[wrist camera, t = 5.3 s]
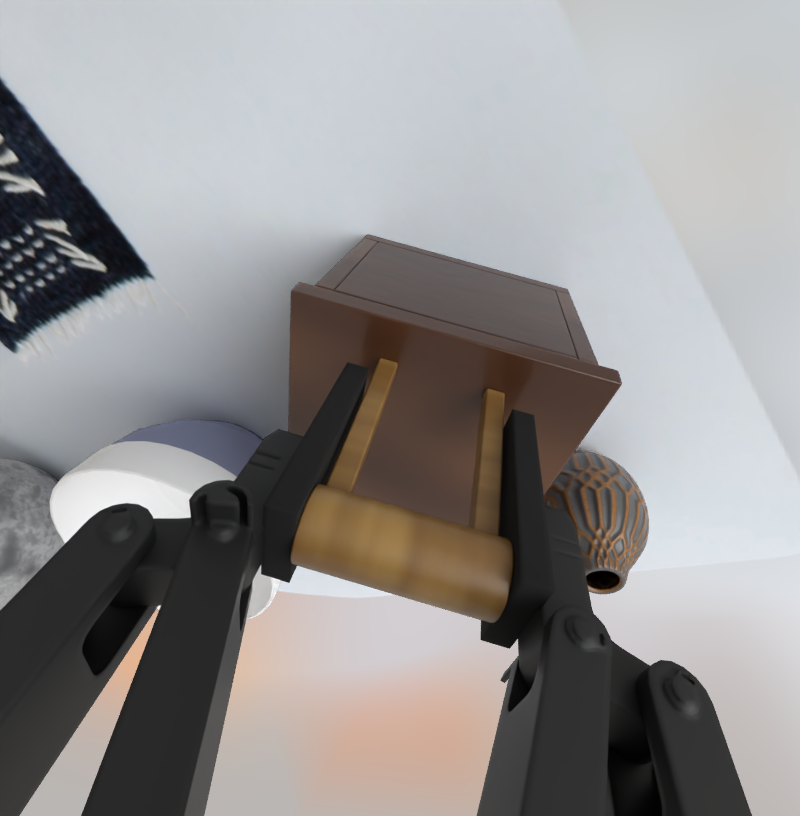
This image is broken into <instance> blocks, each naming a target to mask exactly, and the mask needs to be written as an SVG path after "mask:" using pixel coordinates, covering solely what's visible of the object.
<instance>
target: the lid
mask: <svg viewBox="0 0 800 816" xmlns="http://www.w3.org/2000/svg"><path fill="white" fill-rule="evenodd" d="M347 362H349V363H352V364H356V365H359V366H363V367H367V368H369V370H368V375H367V380H366V385H365V390H364V395H363V399H362V401H361V404H360V406H359V408H358V411H357V413H356V415H355V418H354V420H353V422H352V425H351V427H350V429H349V432H348V434H347V436H346V439H345V441H344V443H343V446H342V448H341V450H340V453H339V455H338V457H337V460H336V462H335V464H334V467H333V469H332V471H331V474H330V476H329V478H328V481H327V483H326V485H323V484H317V485H316V486H315V487H314V488H313V490H312V492H311V493H310V495H309V497H308V499H307V502H306V504H305V506H304V509H303V511H302V514H301V517H300V519H299V522H298V525H297V529H296V532H295V535H294V539H293V543H292V548H291V563H292V564H294V565H297V566H301V567H304V568H308V569H311V570H314V571H318V572H321V573H324V574H328V575H331V576H334V577H338V578H341V579H344V580H348V581H351V582H355V583H358V584H361V585H365V586H368V587H371V588H375V589H378V590H381V591H385V592H388V593H392V594H395V595H398V596H402V597H405V598H408V599H412V600H415V601H418V602H422V603H425V604H429V605H432V606H435V607H439V608H442V609H445V610H449V611H452V612H455V613H459V614H462V615H466V616H469V617H472V618H476V619H479V620H482V621H486V622H489V623H494V622H496V621H497V620H498V619H499V618H500V616H501V614H502V612H503V610H504V608H505V606H506V603H507V600H508V597H509V593H510V589H511V585H512V579H513V571H514V551H513V546H512V543H511V541H510V540H509V539H507V538H505V537H501V536H499V533H500V506H501V479H502V452H503V428H504V426H505V424H506V422H507V420H508V417H509V415H510V413H511V411H512V409H514V410H518V411H521V412H525V413H529V414H532V415H534V418H535V426H536V435H537V443H538V451H539V460H540V468H541V476H542V485H543V493H544V494H545V493H546V491H547V490H548V488H549V487H550V485H551V484H552V483H553V481H554V480H555V478H556V477H557V476H558V474H559V473H560V471H561V470H562V468H563V467H564V466H565V464H566V463H567V461H568V460H569V459H570V457H571V456H572V454H573V453H574V451H575V450H576V449H577V447H578V446H579V444H580V443H581V441H582V440H583V439H584V437H585V436H586V434H587V433H588V432H589V430H590V429H591V427H592V426H593V424H594V423H595V422H596V420H597V419H598V417H599V416H600V415H601V413H602V412H603V410H604V409H605V407H606V406H607V405H608V403H609V402H610V400H611V399H612V397H613V396H614V395H615V393H616V392H617V390H618V389H619V388H620V386H621V384H622V382H621V378H620V375H619V372H618V371H617V370H613V369H610V368H606V367H603V366H599V365H596V364H592V363H588V362H585V361H581V360H578V359H574V358H571V357H567V356H563V355H560V354H556V353H553V352H549V351H545V350H542V349H538V348H535V347H531V346H528V345H524V344H520V343H517V342H513V341H510V340H506V339H503V338H499V337H495V336H492V335H488V334H485V333H481V332H478V331H474V330H470V329H467V328H463V327H460V326H456V325H452V324H449V323H445V322H442V321H438V320H435V319H431V318H427V317H424V316H420V315H417V314H413V313H410V312H406V311H402V310H399V309H395V308H392V307H388V306H385V305H381V304H377V303H374V302H370V301H367V300H363V299H359V298H356V297H352V296H349V295H345V294H342V293H338V292H334V291H331V290H327V289H324V288H320V287H317V286H313V285H309V284H306V283H302V282H299V283H298V284H297V285H296V286H295V287H294V288H293V289H292V291H291V315H290V367H289V418H288V432H290V433H294V434H297V435H301V436H304V435H305V433H306V432H307V430H308V428H309V427H310V425H311V423H312V421H313V420H314V418H315V416H316V415H317V413H318V411H319V410H320V408H321V406H322V404H323V403H324V401H325V399H326V398H327V396H328V394H329V393H330V391H331V389H332V388H333V386H334V384H335V382H336V381H337V379H338V377H339V376H340V374H341V372H342V371H343V369H344V367H345V366H346V364H347Z"/></svg>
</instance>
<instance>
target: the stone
mask: <svg viewBox="0 0 800 816" xmlns="http://www.w3.org/2000/svg"><path fill="white" fill-rule="evenodd" d="M57 483H58V481H57V480H56V479H54V478H53V477H52V476H51V475H49V474H48V473H46V472H45V471H43V470H41V469H39V468H36V467H34V466H31V465H29V464H26V463H23V462H19V461H15V460H9V459H0V610H1V609H2V608H3V607H4V606H5V605H6V604H7V603H8V602H9V601H10V600H11V599H12V598H13V597H14V596H15V595H16V594H17V593H18V592H19V591H20V590H21V589H22V588H23V587H24V586H25V584H26V583H27V582H28V581H29V580H30V579H31V578H32V577H33V576H34V575H35V574H36V573H37V572H38V571H39V570H40V569H41V568H42V567H43V566H44V565H45V564H46V563H47V562H48V561H49V560H50V559H51V558H52V557H53V556H54V555H55V554H56V553H57V551H58V550H59V549H60V548H61V547H62V546H63V545H64V544H65V543H64V541H63V540H62V538H61V537H60V535H59V533H58V532H57V530H56V528H55V525H54V523H53V520H52V517H51V514H50V503H49V501H50V498H51V494H52V490H53V488H54V487H55V485H56V484H57Z"/></svg>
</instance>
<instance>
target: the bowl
mask: <svg viewBox="0 0 800 816" xmlns="http://www.w3.org/2000/svg"><path fill="white" fill-rule="evenodd" d="M262 441H263V440H262V439H260V438H259V437H258V436H256V435H255V434H253V433H252V432H250V431H248V430H246V429H244V428H242V427H240V426H237V425H234V424H231V423H228V422H221V421H202V420H196V419H192V420H178V421H173V422H168V423H163V424H158V425H153V426H149V427H145V428H141V429H138V430H136V431H134V432H132V433H131V434H129V435H127V436H125V437H123V438H122V439H120V440H118V441H116V442H114V443H113V444H111V445H108V446H106V447H104V448H103V449H101V450H99V451H97V452H95V453H94V454H93V455H91V456H90V457H89V458H87V459H86V460H85V461H83V462H82V463H81V464H79V465H78V466H77V467H75V468H74V469H72V470H71V471H70V472H68V473H67V474H66V475H64V476H63V477H62V478H61V479H60V481H59V482H58V483H57V484H56V485H55V487H54V488H53V490H52V494H51V498H50V501H49V503H50V514H51V517H52V520H53V523H54V525H55V528H56V530H57V532H58V533H59V535H60V537H61V538H62V540H63V541H64V543H66V542H67V541H68V540H69V539H70V538H71V537H72V536H73V535H74V534H75V533H76V532H77V531H78V530H79V529H80V528H81V527H82V526H83V525H84V524H85V523H86V522H87V521H88V520H89V519H90V518H91V517H92V516H94V515H95V514H96V513H98V512H99V511H100V510H103V509H105V508H108V507H110V506H112V505H117V504H124V503H131V504H139V505H141V506H143V507H145V508H147V509H148V510H149V512H150V513H151V514H152V516H153V518H190V517H191V513H190V505H189V499H190V498H191V496H192V495H193V494H194V492H195V491H196V490H198V489H199V488H201V487H202V486H203V485H205V484H208V483H211V482H214V481H219V480H231V481H234V480H235V479H236V478H237V476H238V475H239V473H240V472H241V471H242V469H243V468H244V466H245V465H246V463H248V461H249V459H250V458H251V456H252V455H253V454H254V453H255V451H256V449H257V448H258V446H259V445H260V444H261V442H262ZM280 581H281V580H278V579H275V578H272V577H268V576H265V575H262V574H261V566H260V567H259V569H258V571H257V573H256V575H255V577H254V579H253V583H252V594H251V599H250V604H249V608H248V613H247V618H246V620H248V619H251V618H253V617H255V616H258V615H259V614H261V613H262V612H263V611H264V610H265V609H266V608H267V607H269V605H270V604H271V602H272V600H273V598H274V596H275V594H276V592H277V589H278V587H279V584H280ZM160 607H161V605H160V606H158V607H157V608H156V609H157V610H160Z"/></svg>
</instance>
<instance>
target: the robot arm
mask: <svg viewBox="0 0 800 816" xmlns="http://www.w3.org/2000/svg"><path fill="white" fill-rule="evenodd" d="M368 370H369V368H367V367H363V366H359V365H356V364H352V363H349V362H347V364H346V366H345V367H344V369H343V371H342V372H341V374H340V376H339V377H338V379H337V381H336V382H335V384H334V386H333V388H332V389H331V391H330V393H329V394H328V396H327V398H326V399H325V401H324V403H323V404H322V406H321V408H320V410H319V411H318V413H317V415H316V416H315V418H314V420H313V421H312V423H311V425H310V427H309V428H308V430H307V432H306V433H305V435H304V436H301V435H297V434H294V433H290V432H287V431H283V430H280V429H278V430H277V431H275V432H273V433H272V434H270V435H269V436H267V437H265V438H264V439H263V441H262V442H261V444H260V445H259V446H258V448H257V449H256V451H255V453H254V454H253V455H252V456H251V458H250V459H249V461H248V463H246V465H245V466H244V468H243V469H242V471H241V472H240V473H239V475H238V476H237V478H236V479H235V480H234V481H231V480H219V481H214V482H211V483H208V484H205V485H203V486H202V487H201V488H199V489H198V490H196V491H195V492H194V494H193V495H192V496H191V498H190V499H189V505H190V513H191V517H190V518H153V516H152V514H151V513H150V512H149V510H148V509H147V508H145V507H143V506H141V505H139V504H131V503H124V504H117V505H112V506H110V507H108V508H105V509H103V510H100V511H99V512H98V513H96V514H95V515H94V516H92V517H91V518H90V519H89V520H88V521H87V522H86V523H85V524H84V525H83V526H82V527H81V528H80V529H79V530H78V531H77V532H76V533H75V534H74V535H73V536H72V537H71V538H70V539H69V540H68V541H67V542H66V543H65V544H64V545H63V546H62V547H61V548H60V549H59V550H58V551H57V553H56V554H55V555H54V556H53V557H52V558H51V559H50V560H49V561H48V562H47V563H46V564H45V565H44V566H43V567H42V568H41V569H40V570H39V571H38V572H37V573H36V574H35V575H34V576H33V577H32V578H31V579H30V580H29V581H28V582H27V583H26V584H25V586H24V587H23V588H22V589H21V590H20V591H19V592H18V593H17V594H16V595H15V596H14V597H13V598H12V599H11V600H10V601H9V602H8V603H7V604H6V605H5V606H4V607H3V608H2V609H1V610H0V816H19V815H20V814H21V812H22V811H23V809H24V808H25V806H26V805H27V803H28V802H29V800H30V798H31V797H32V795H33V794H34V792H35V791H36V790H37V788H38V787H39V785H40V784H41V782H42V780H43V779H44V777H45V776H46V774H47V773H48V771H49V770H50V768H51V767H52V765H53V764H54V762H55V761H56V759H57V758H58V756H59V755H60V753H61V752H62V750H63V749H64V747H65V746H66V744H67V743H68V741H69V740H70V738H71V737H72V735H73V734H74V732H75V731H76V729H77V728H78V726H79V725H80V723H81V722H82V720H83V718H84V717H85V716H86V714H87V712H88V711H89V710H90V708H91V707H92V705H93V704H94V702H95V700H96V699H97V697H98V696H99V694H100V693H101V691H102V690H103V688H104V687H105V685H106V684H107V682H108V681H109V679H110V678H111V676H112V675H113V673H114V672H115V670H116V669H117V667H118V665H119V664H120V663H121V661H122V660H123V658H124V657H125V655H126V654H127V652H128V651H129V649H130V647H131V646H132V644H133V643H134V642H135V640H136V639H137V637H138V636H139V634H140V632H141V631H142V630H143V628H144V626H145V625H146V624H147V622H148V620H149V619H150V617H151V616H152V614H153V613H154V611H155V610H156V608H157V607H158V606H160V605H161V607H160V610H159V613H158V615H157V618H156V620H155V623H154V625H153V628H152V631H151V634H150V636H149V639H148V642H147V644H146V647H145V650H144V652H143V655H142V657H141V660H140V662H139V665H138V668H137V670H136V673H135V676H134V678H133V681H132V683H131V686H130V689H129V692H128V694H127V697H126V700H125V702H124V704H123V707H122V710H121V712H120V715H119V718H118V721H117V723H116V726H115V728H114V731H113V733H112V736H111V739H110V741H109V744H108V747H107V749H106V752H105V755H104V757H103V760H102V763H101V765H100V768H99V771H98V773H97V776H96V778H95V781H94V784H93V786H92V789H91V792H90V794H89V797H88V799H87V802H86V805H85V807H84V810H83V812H82V815H81V816H204V814H205V809H206V804H207V800H208V795H209V790H210V786H211V781H212V776H213V772H214V767H215V762H216V758H217V753H218V748H219V744H220V739H221V734H222V729H223V725H224V720H225V716H226V711H227V706H228V702H229V697H230V692H231V688H232V683H233V678H234V674H235V669H236V664H237V660H238V655H239V650H240V646H241V641H242V636H243V632H244V627H245V622H246V618H247V613H248V608H249V604H250V599H251V594H252V583H253V579H254V577H255V575H256V573H257V571H258V569H259V567H260V566H261V574H262V575H265V576H268V577H272V578H275V579H278V580H282V581H285V582H288V583H289V582H290V580H291V578H292V575H293V573H294V571H295V569H296V566H297V565H294V564H292V563H291V548H292V543H293V539H294V535H295V532H296V529H297V525H298V522H299V519H300V517H301V514H302V511H303V509H304V506H305V504H306V502H307V499H308V497H309V495H310V493H311V492H312V490H313V488H314V487H315V486H316V485H317V484H323V485H326V483H327V481H328V478H329V476H330V474H331V471H332V469H333V467H334V464H335V462H336V460H337V457H338V455H339V453H340V450H341V448H342V446H343V443H344V441H345V439H346V436H347V434H348V432H349V429H350V427H351V425H352V422H353V420H354V418H355V415H356V413H357V411H358V408H359V406H360V404H361V401H362V399H363V395H364V390H365V385H366V380H367V375H368ZM499 536H501V537H505V538H507V539H509V540H510V541H511V543H512V546H513V551H514V571H513V579H512V585H511V589H510V593H509V597H508V600H507V603H506V606H505V608H504V610H503V612H502V614H501V616H500V618H499V619H498V620H497V621H496V622H494V623H489V622H486V621H482V620H481V640H483V641H486V642H489V643H493V644H496V645H499V646H503V647H506V648H510V647H511V646H512V645H513V644H514V643H515V641H516V640H517V639H518V649H519V656H518V657H517V658H516V659H515V661H514V662H513V663H512V664H511V665H510V667H509V668H508V669H507V670H506V671H505V673H504V674H503V676H502V678H501V681H502V682H504V683H505V682H506V681H507V680H508V679H509V680H508V684H507V688H506V693H505V697H504V701H503V706H502V710H501V715H500V719H499V723H498V727H497V732H496V736H495V740H494V744H493V748H492V753H491V757H490V761H489V766H488V770H487V774H486V778H485V783H484V787H483V791H482V796H481V800H480V804H479V809H478V813H477V816H752V814H751V812H750V809H749V806H748V803H747V800H746V797H745V795H744V792H743V789H742V786H741V783H740V780H739V777H738V774H737V772H736V769H735V766H734V763H733V760H732V758H731V754H730V752H729V749H728V746H727V743H726V740H725V737H724V735H723V732H722V729H721V726H720V723H719V720H718V717H717V714H716V711H715V709H714V706H713V703H712V701H711V699H710V697H709V695H708V693H707V691H706V690H705V688H704V687H703V686H702V685H701V683H700V682H699V681H698V680H697V678H696V677H694V676H693V675H692V674H691V673H690V672H689V671H687V670H686V669H685V668H684V667H682V666H680V665H678V664H676V663H674V662H672V661H664V660H660V661H658V662H656V663H654V664H652V665H651V666H649V665H647V664H646V663H644V662H643V661H641V660H640V659H638V658H637V657H635V656H633V655H632V654H630V653H628V652H627V651H625V650H624V649H622V648H621V647H619V646H618V645H617V644H615V643H614V642H613V641H612V640H611V638H610V636H609V634H608V632H607V630H606V628H605V626H604V625H603V624H602V622H601V621H600V620H599V619H598V618H597V617H596V616H595V615H594V614H593V611H592V607H591V601H590V597H589V591H588V585H587V580H586V575H585V570H584V564H583V560H581V559H582V554H581V548H580V547H579V544H580V543H579V538H578V533H577V527H576V526H575V524H574V522H573V521H572V519H571V517H570V516H569V514H568V512H567V511H564V510H560V509H557V508H553V507H550V506H546V505H545V502H544V493H543V485H542V476H541V468H540V460H539V451H538V443H537V435H536V426H535V418H534V415H532V414H529V413H525V412H521V411H518V410H514V409H512V411H511V413H510V415H509V417H508V420H507V422H506V424H505V426H504V428H503V452H502V479H501V506H500V533H499Z"/></svg>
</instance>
